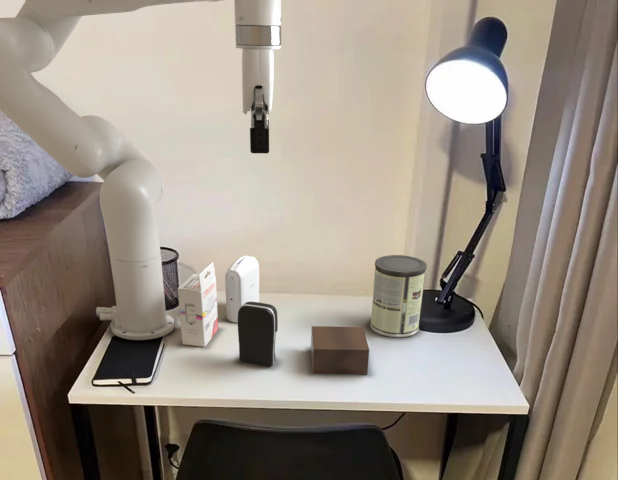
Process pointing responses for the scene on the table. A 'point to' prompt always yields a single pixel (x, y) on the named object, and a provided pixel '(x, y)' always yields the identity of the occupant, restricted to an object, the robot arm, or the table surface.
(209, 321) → the ink cartridge box
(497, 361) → the table surface
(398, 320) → the coffee can
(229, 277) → the photo printer
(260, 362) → the black rounded block
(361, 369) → the block
